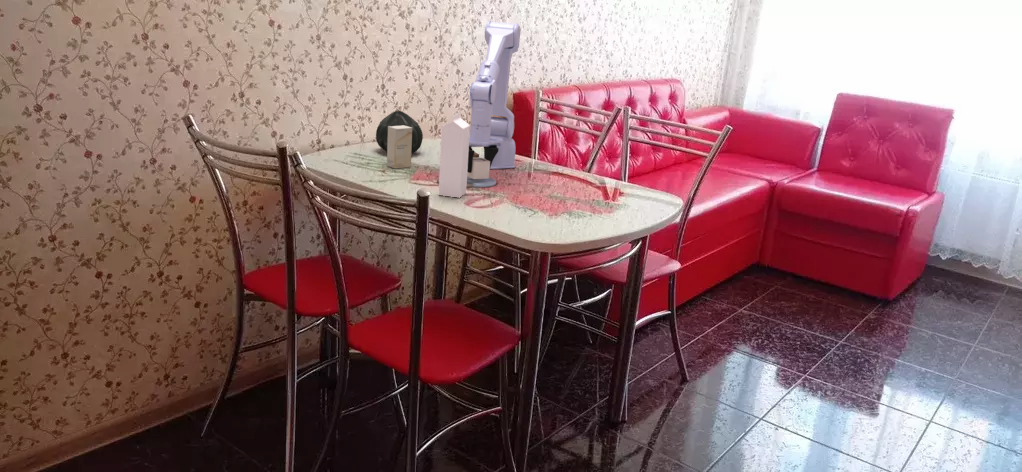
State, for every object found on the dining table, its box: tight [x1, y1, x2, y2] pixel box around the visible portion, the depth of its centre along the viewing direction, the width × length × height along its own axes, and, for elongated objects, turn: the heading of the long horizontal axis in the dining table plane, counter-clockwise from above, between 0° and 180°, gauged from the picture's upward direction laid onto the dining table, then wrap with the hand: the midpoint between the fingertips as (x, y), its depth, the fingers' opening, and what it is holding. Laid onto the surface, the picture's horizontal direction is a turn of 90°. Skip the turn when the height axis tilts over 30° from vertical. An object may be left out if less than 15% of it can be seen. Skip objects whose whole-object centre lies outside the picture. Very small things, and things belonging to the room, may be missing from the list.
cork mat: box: [436, 179, 474, 189], centre depth 211 cm, size 8×8×1 cm
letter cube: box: [467, 157, 491, 179], centre depth 214 cm, size 5×5×5 cm
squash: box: [375, 110, 424, 155], centre depth 241 cm, size 14×15×15 cm
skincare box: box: [386, 125, 412, 169], centre depth 224 cm, size 6×4×12 cm
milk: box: [438, 111, 471, 199], centre depth 198 cm, size 6×6×22 cm
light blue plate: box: [467, 176, 497, 189], centre depth 215 cm, size 11×11×1 cm
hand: (477, 171), depth 214 cm, fingers closed on letter cube, 5 cm apart
